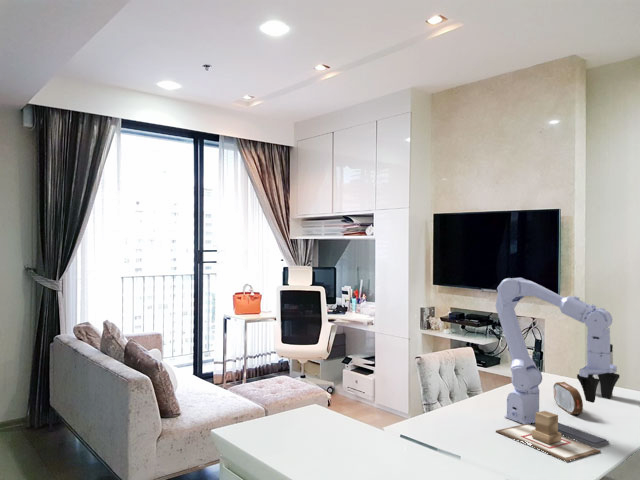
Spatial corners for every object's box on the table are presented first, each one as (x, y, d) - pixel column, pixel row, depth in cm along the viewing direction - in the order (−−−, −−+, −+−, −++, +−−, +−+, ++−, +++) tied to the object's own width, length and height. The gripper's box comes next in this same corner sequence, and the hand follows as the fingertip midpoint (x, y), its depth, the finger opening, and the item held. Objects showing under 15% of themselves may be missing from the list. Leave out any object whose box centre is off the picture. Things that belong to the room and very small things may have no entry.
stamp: (548, 445, 127) (549, 418, 127) (531, 438, 132) (532, 412, 132) (561, 441, 129) (561, 415, 130) (544, 435, 134) (544, 409, 134)
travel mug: (588, 393, 178) (588, 340, 179) (601, 392, 180) (602, 339, 181) (602, 398, 172) (603, 343, 173) (616, 397, 174) (616, 342, 175)
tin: (583, 418, 151) (583, 391, 151) (573, 418, 151) (573, 391, 151) (560, 403, 166) (560, 379, 166) (551, 403, 166) (551, 378, 166)
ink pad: (595, 447, 127) (595, 443, 127) (539, 426, 142) (539, 423, 142) (608, 444, 130) (608, 439, 130) (552, 423, 145) (552, 420, 145)
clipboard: (566, 462, 118) (566, 459, 118) (495, 431, 137) (495, 429, 137) (600, 452, 124) (600, 449, 124) (528, 424, 144) (528, 422, 144)
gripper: (596, 356, 129) (596, 407, 128) (627, 352, 136) (627, 400, 135) (572, 351, 135) (572, 400, 135) (602, 347, 142) (602, 393, 141)
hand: (598, 399), depth 135 cm, fingers open, 7 cm apart
